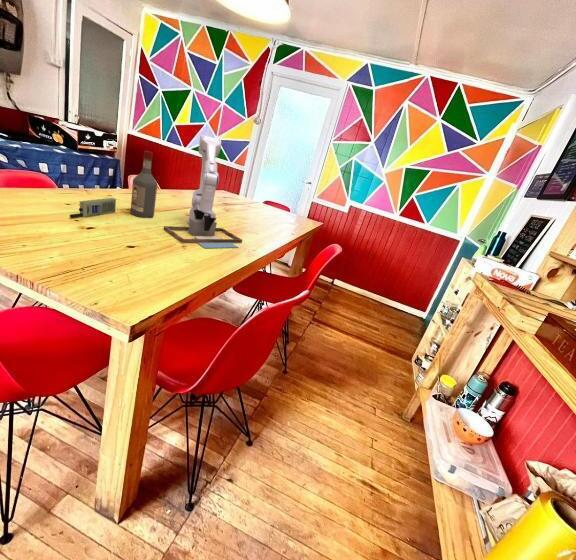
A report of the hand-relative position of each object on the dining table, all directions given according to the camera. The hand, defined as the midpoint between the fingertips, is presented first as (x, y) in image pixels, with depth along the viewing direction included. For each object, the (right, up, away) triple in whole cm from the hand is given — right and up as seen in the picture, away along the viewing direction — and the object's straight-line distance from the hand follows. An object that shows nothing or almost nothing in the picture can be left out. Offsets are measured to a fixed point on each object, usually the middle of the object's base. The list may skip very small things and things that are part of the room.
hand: (202, 228), depth 152 cm
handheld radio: (-44, +3, -13) cm, 46 cm away
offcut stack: (+4, -6, -3) cm, 8 cm away
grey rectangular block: (-1, -3, +1) cm, 3 cm away
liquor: (-31, +7, +5) cm, 32 cm away
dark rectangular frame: (+1, -4, -1) cm, 4 cm away
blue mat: (+9, -9, -8) cm, 15 cm away
